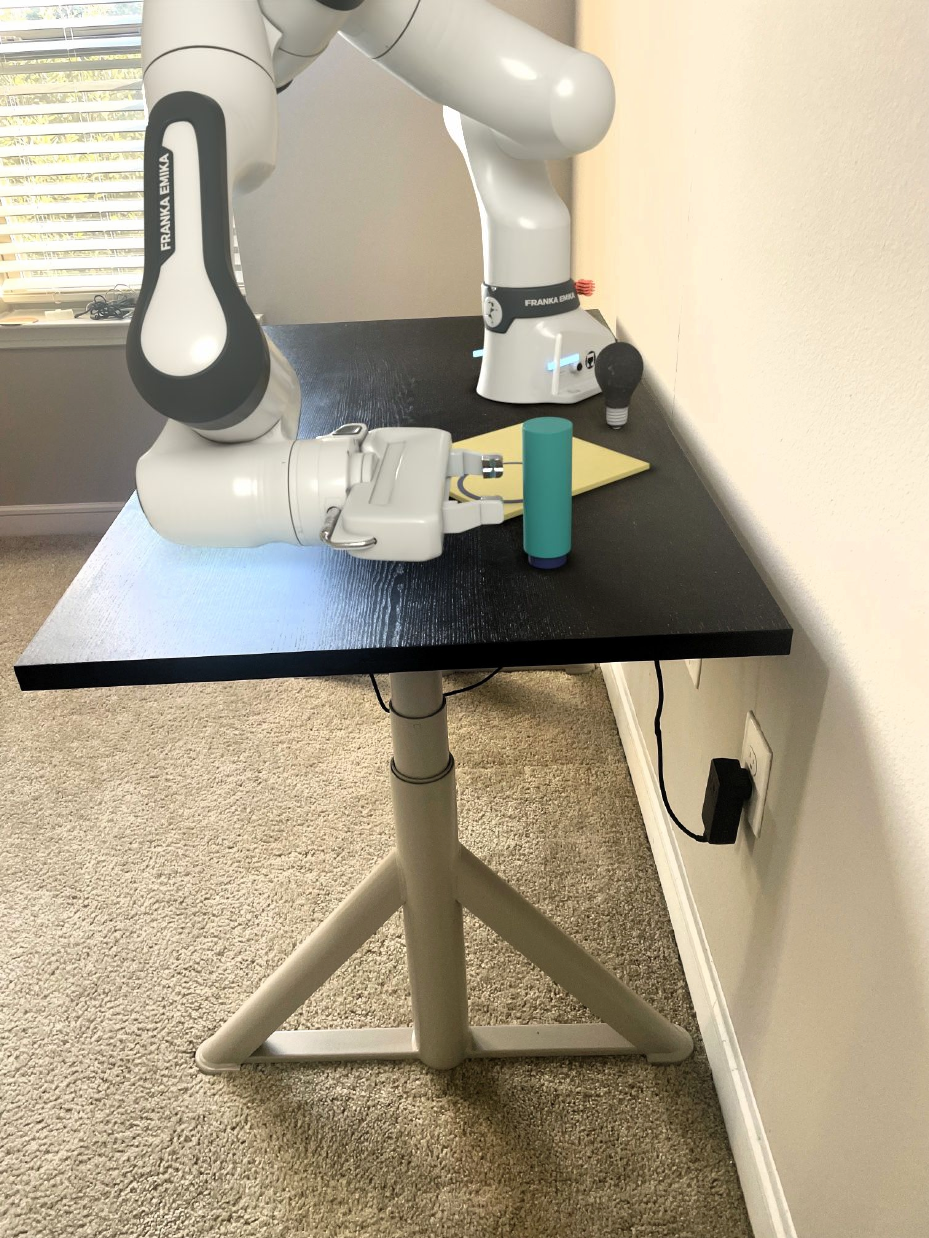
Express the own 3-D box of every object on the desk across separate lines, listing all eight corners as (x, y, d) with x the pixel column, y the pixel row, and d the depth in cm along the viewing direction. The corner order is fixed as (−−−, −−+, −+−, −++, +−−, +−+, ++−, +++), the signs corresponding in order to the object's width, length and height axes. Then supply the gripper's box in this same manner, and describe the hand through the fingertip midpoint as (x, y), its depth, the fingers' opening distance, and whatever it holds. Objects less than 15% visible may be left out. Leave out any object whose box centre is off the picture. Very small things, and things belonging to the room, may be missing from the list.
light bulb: (590, 421, 106) (592, 337, 100) (636, 419, 105) (641, 335, 100) (595, 436, 101) (597, 349, 96) (643, 434, 100) (648, 347, 95)
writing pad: (528, 425, 105) (528, 420, 105) (649, 468, 91) (649, 462, 91) (389, 466, 96) (389, 460, 95) (500, 521, 81) (500, 514, 81)
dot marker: (549, 546, 76) (549, 413, 70) (580, 561, 74) (583, 424, 67) (514, 559, 74) (511, 424, 68) (544, 575, 72) (544, 436, 65)
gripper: (307, 507, 61) (503, 500, 60) (350, 417, 78) (501, 411, 78) (319, 585, 64) (505, 579, 63) (358, 482, 82) (503, 476, 81)
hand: (503, 486), depth 71 cm, fingers open, 8 cm apart
